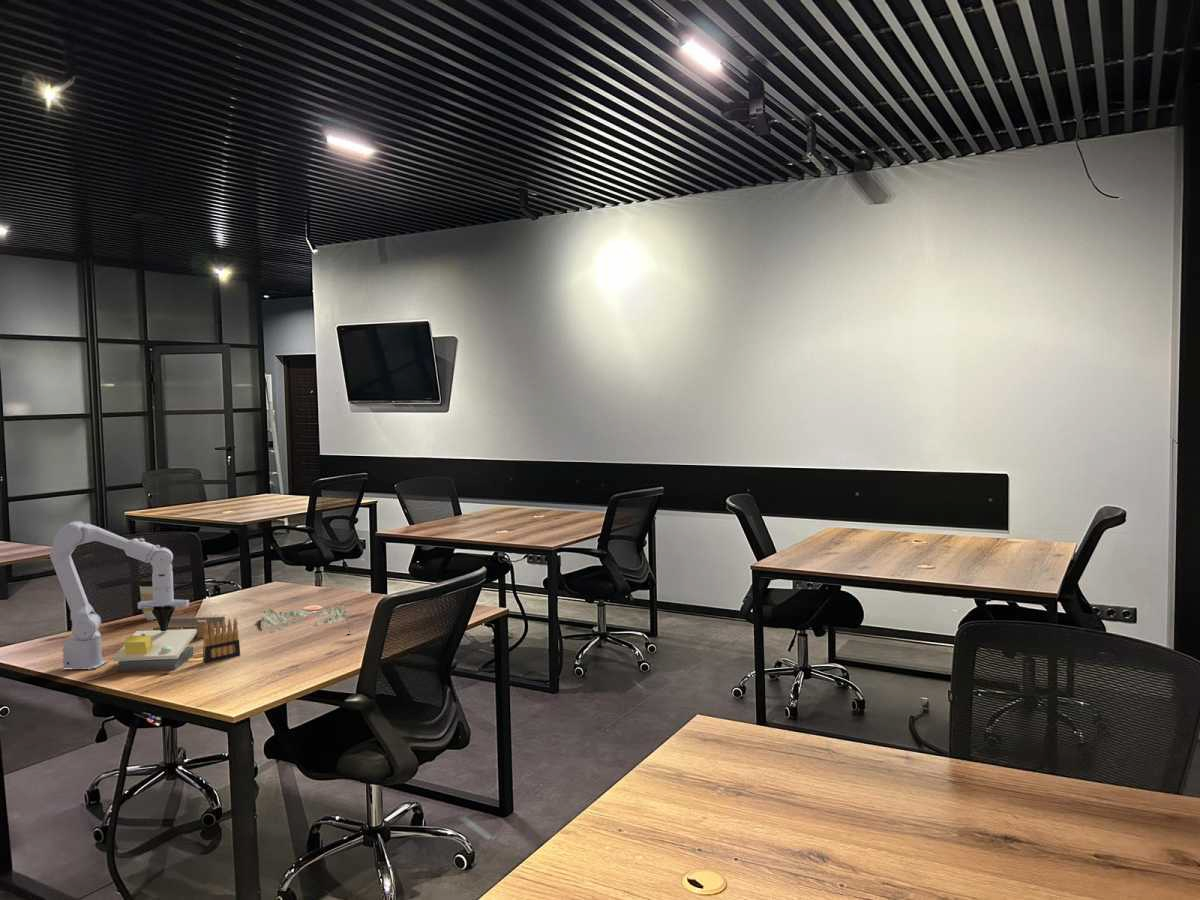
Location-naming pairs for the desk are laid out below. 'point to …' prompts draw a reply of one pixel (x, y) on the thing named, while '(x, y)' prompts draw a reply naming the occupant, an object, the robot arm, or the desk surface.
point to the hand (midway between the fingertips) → (164, 630)
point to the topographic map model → (274, 618)
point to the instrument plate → (155, 645)
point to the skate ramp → (194, 623)
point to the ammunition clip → (221, 642)
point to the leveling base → (156, 663)
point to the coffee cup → (147, 595)
